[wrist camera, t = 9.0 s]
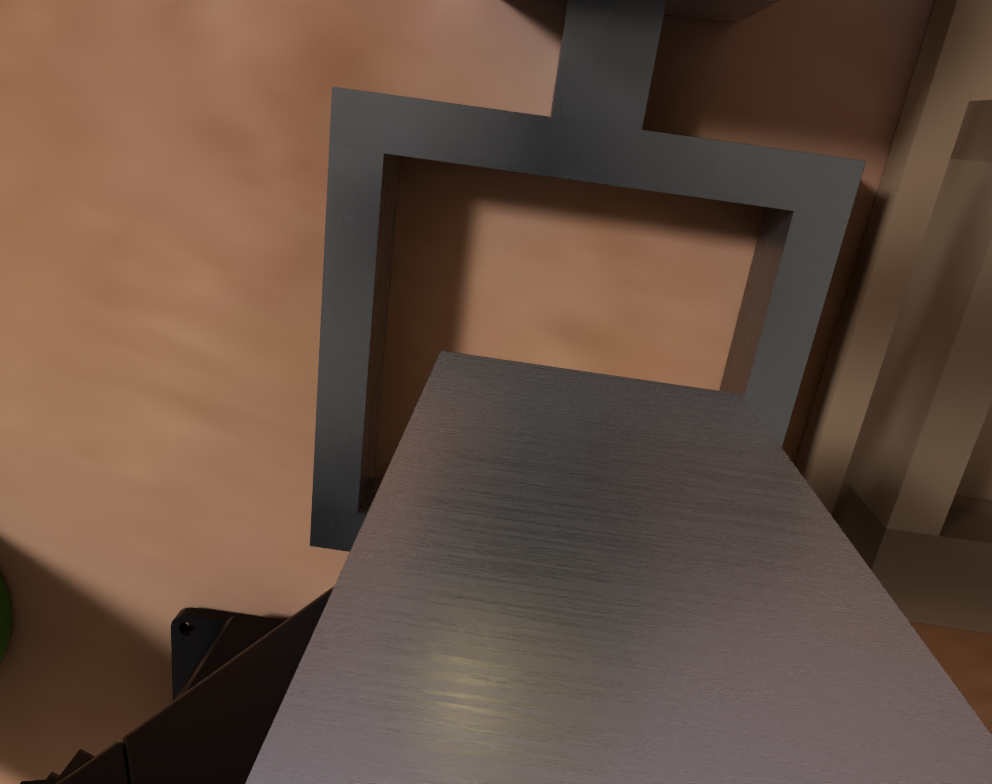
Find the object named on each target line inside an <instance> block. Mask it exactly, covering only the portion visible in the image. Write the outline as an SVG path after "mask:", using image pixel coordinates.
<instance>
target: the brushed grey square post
mask: <svg viewBox="0 0 992 784" xmlns="http://www.w3.org/2000/svg"><path fill="white" fill-rule="evenodd" d="M245 784H992V735H991V733H990V732H989V731H988V729H987V728H986V727H985V725H984V724H983V722H982V721H981V720H980V718H979V717H978V716H977V714H976V713H975V712H974V710H973V709H972V707H971V706H970V705H969V703H968V702H967V701H966V699H965V698H964V696H963V695H962V694H961V692H960V691H959V690H958V688H957V687H956V686H955V684H954V683H953V681H952V680H951V679H950V677H949V676H948V675H947V673H946V672H945V670H944V669H943V668H942V666H941V665H940V664H939V662H938V661H937V660H936V658H935V657H934V655H933V654H932V653H931V651H930V650H929V649H928V647H927V646H926V644H925V643H924V642H923V640H922V639H921V638H920V636H919V635H918V634H917V632H916V631H915V629H914V628H913V627H912V625H911V624H910V623H909V621H908V620H907V618H906V617H905V616H904V614H903V613H902V612H901V610H900V609H899V608H898V606H897V605H896V603H895V602H894V601H893V599H892V598H891V597H890V595H889V594H888V593H887V591H886V590H885V588H884V587H883V586H882V584H881V583H880V582H879V580H878V579H877V577H876V576H875V575H874V573H873V572H872V571H871V569H870V568H869V567H868V565H867V564H866V562H865V561H864V560H863V558H862V557H861V556H860V554H859V553H858V551H857V550H856V549H855V547H854V546H853V545H852V543H851V542H850V541H849V539H848V538H847V536H846V535H845V534H844V532H843V531H842V530H841V528H840V527H839V525H838V524H837V523H836V521H835V520H834V519H833V517H832V516H831V515H830V513H829V512H828V510H827V509H826V508H825V506H824V505H823V504H822V502H821V501H820V500H819V498H818V497H817V495H816V494H815V493H814V491H813V490H812V489H811V487H810V486H809V484H808V483H807V482H806V480H805V479H804V478H803V476H802V475H801V474H800V472H799V471H798V469H797V468H796V467H795V465H794V464H793V463H792V461H791V460H790V458H789V457H788V456H787V454H786V453H785V452H784V450H783V449H782V448H781V446H780V445H779V443H778V442H777V441H776V439H775V438H774V437H773V435H772V434H771V432H770V431H769V430H768V428H767V427H766V426H765V424H764V423H763V422H762V420H761V419H760V417H759V416H758V415H757V413H756V412H755V411H754V409H753V408H752V406H751V405H750V404H749V402H748V401H747V400H746V398H745V397H744V396H743V394H737V393H730V392H724V391H717V390H710V389H703V388H696V387H689V386H682V385H675V384H668V383H661V382H654V381H647V380H640V379H634V378H627V377H620V376H613V375H606V374H599V373H592V372H585V371H578V370H571V369H564V368H557V367H551V366H544V365H537V364H530V363H523V362H516V361H509V360H502V359H495V358H488V357H481V356H474V355H467V354H461V353H454V352H447V351H441V352H440V354H439V356H438V358H437V361H436V363H435V365H434V367H433V369H432V372H431V374H430V376H429V378H428V380H427V383H426V385H425V387H424V389H423V391H422V394H421V396H420V398H419V400H418V403H417V405H416V407H415V409H414V411H413V414H412V416H411V418H410V420H409V422H408V425H407V427H406V429H405V431H404V434H403V436H402V438H401V440H400V442H399V445H398V447H397V449H396V451H395V453H394V456H393V458H392V460H391V462H390V464H389V467H388V469H387V471H386V473H385V476H384V478H383V480H382V482H381V484H380V487H379V489H378V491H377V493H376V495H375V498H374V500H373V502H372V504H371V507H370V509H369V511H368V513H367V515H366V518H365V520H364V522H363V524H362V526H361V529H360V531H359V533H358V535H357V538H356V540H355V542H354V544H353V546H352V549H351V551H350V553H349V555H348V557H347V560H346V562H345V564H344V566H343V568H342V571H341V573H340V575H339V577H338V580H337V582H336V584H335V586H334V588H333V591H332V593H331V595H330V597H329V599H328V602H327V604H326V606H325V608H324V611H323V613H322V615H321V617H320V619H319V622H318V624H317V626H316V628H315V630H314V633H313V635H312V637H311V639H310V641H309V644H308V646H307V648H306V650H305V653H304V655H303V657H302V659H301V661H300V664H299V666H298V668H297V670H296V672H295V675H294V677H293V679H292V681H291V684H290V686H289V688H288V690H287V692H286V695H285V697H284V699H283V701H282V703H281V706H280V708H279V710H278V712H277V714H276V717H275V719H274V721H273V723H272V726H271V728H270V730H269V732H268V734H267V737H266V739H265V741H264V743H263V745H262V748H261V750H260V752H259V754H258V757H257V759H256V761H255V763H254V765H253V768H252V770H251V772H250V774H249V776H248V779H247V781H246V783H245Z"/></svg>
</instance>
